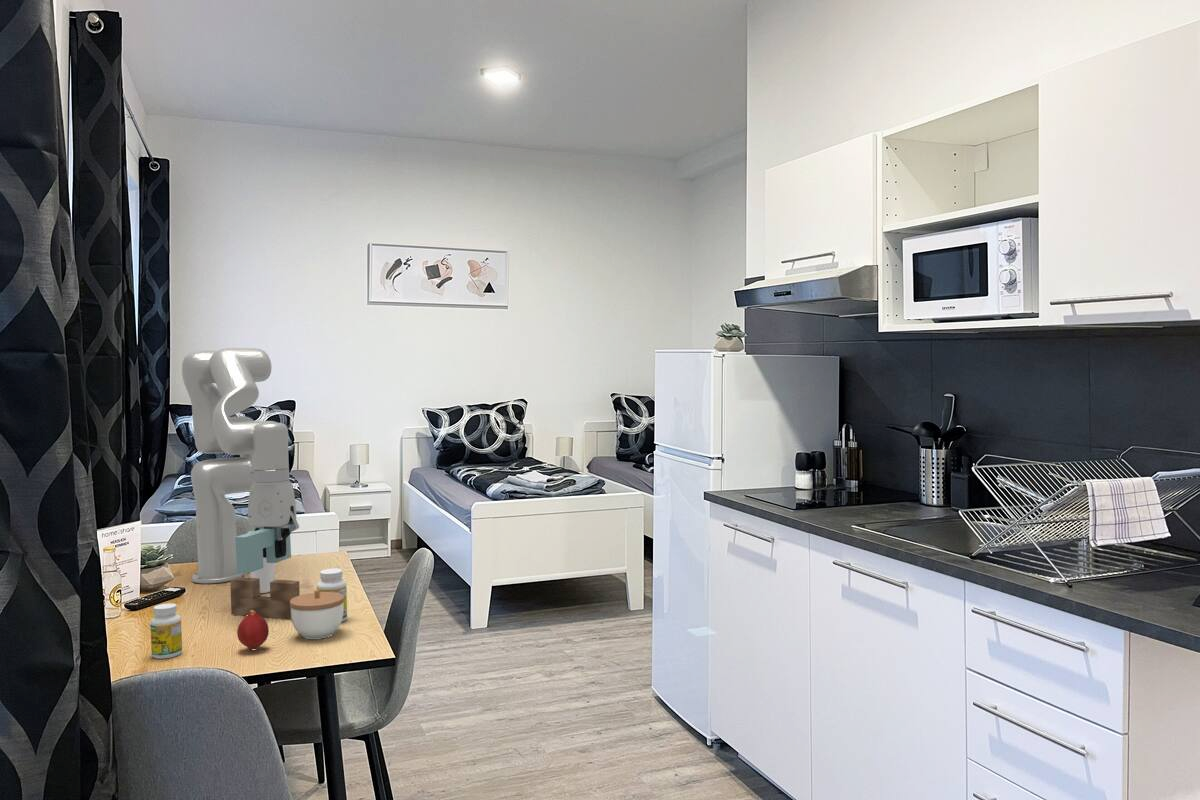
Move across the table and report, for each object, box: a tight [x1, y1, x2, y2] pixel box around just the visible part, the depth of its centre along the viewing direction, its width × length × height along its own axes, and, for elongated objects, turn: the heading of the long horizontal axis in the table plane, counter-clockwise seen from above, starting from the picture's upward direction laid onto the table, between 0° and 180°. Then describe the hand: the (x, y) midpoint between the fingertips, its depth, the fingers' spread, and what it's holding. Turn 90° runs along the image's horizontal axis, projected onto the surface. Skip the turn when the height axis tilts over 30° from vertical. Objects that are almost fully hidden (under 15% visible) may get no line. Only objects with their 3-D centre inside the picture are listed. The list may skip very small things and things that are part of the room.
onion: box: [236, 610, 270, 650], centre depth 173 cm, size 6×6×8 cm
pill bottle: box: [316, 568, 348, 623], centre depth 193 cm, size 6×6×11 cm
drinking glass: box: [246, 530, 276, 594], centre depth 218 cm, size 7×7×15 cm
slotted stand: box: [229, 576, 301, 620], centre depth 197 cm, size 16×2×8 cm, turn 75°
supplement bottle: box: [149, 603, 183, 660], centre depth 171 cm, size 5×5×10 cm
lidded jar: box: [290, 589, 344, 640], centre depth 182 cm, size 11×11×9 cm
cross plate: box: [235, 525, 292, 575], centre depth 199 cm, size 16×2×8 cm, turn 165°
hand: (274, 556), depth 202 cm, fingers closed on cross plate, 2 cm apart
